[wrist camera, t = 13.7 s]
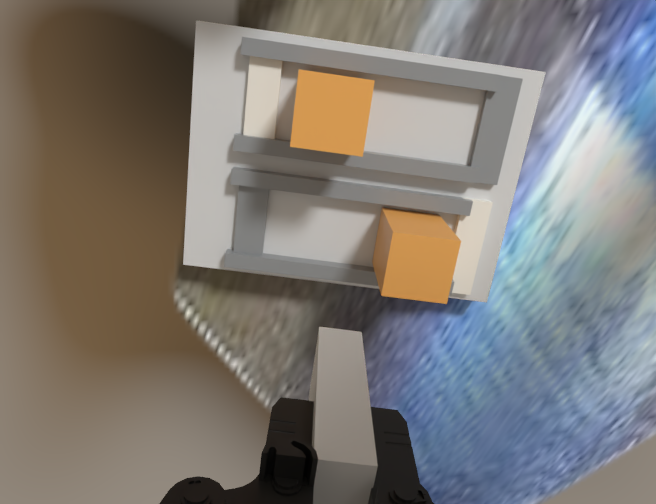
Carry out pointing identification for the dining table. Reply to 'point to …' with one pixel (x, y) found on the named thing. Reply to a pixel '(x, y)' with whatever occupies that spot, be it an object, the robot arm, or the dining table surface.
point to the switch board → (348, 157)
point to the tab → (414, 255)
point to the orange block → (331, 112)
